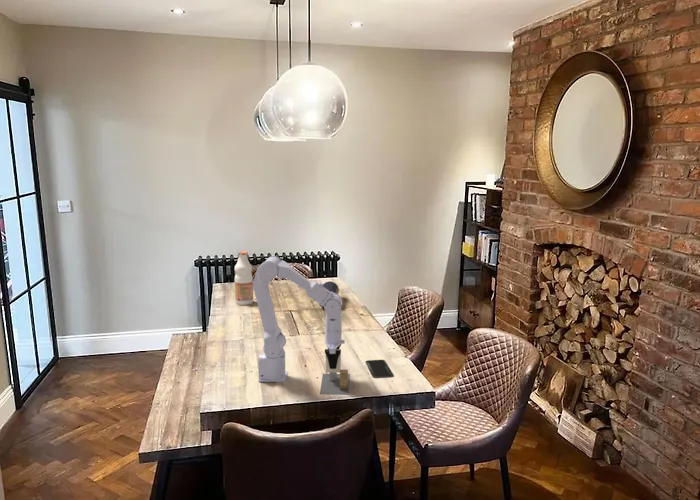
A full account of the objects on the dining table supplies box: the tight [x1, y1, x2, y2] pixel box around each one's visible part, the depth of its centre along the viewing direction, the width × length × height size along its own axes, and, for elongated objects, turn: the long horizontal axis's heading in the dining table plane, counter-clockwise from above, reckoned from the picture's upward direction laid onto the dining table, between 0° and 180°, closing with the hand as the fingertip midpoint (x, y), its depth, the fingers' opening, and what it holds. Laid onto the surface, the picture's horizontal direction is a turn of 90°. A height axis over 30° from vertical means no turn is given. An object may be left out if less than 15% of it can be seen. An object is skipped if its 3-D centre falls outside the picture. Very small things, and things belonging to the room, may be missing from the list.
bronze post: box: [339, 368, 349, 390], centre depth 173 cm, size 3×3×6 cm
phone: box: [365, 359, 394, 379], centre depth 190 cm, size 8×1×15 cm
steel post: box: [328, 372, 338, 381], centre depth 180 cm, size 3×3×6 cm
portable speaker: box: [318, 281, 340, 309], centre depth 272 cm, size 25×10×10 cm, turn 177°
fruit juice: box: [234, 250, 254, 306], centre depth 268 cm, size 9×9×28 cm
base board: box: [319, 373, 351, 396], centre depth 177 cm, size 10×16×1 cm, turn 179°
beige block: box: [325, 348, 342, 373], centre depth 179 cm, size 5×5×7 cm
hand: (333, 365), depth 179 cm, fingers closed on beige block, 5 cm apart
